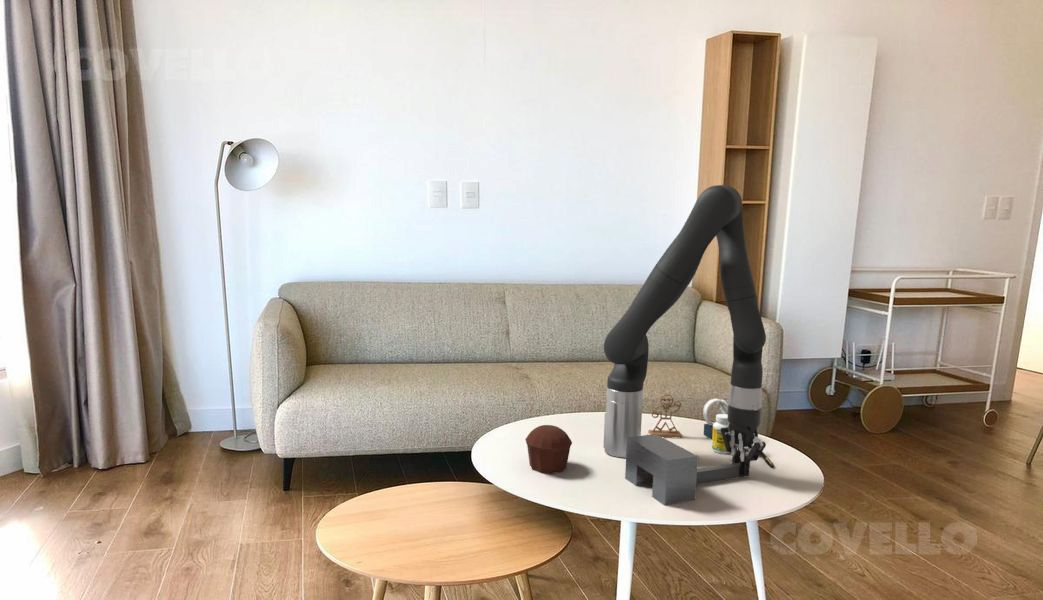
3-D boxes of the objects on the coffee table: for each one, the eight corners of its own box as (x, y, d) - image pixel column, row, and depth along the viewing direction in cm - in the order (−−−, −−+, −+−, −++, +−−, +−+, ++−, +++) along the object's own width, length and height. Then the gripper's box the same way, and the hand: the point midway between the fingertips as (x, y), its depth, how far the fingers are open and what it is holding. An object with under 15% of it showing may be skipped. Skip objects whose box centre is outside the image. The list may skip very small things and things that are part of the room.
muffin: (580, 471, 166) (581, 431, 165) (540, 479, 161) (541, 437, 159) (554, 455, 176) (555, 418, 175) (516, 462, 171) (517, 423, 170)
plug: (655, 485, 159) (656, 470, 158) (739, 471, 169) (740, 457, 168) (667, 492, 155) (667, 477, 154) (752, 477, 164) (753, 463, 164)
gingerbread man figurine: (650, 437, 193) (652, 395, 192) (647, 433, 197) (649, 392, 195) (682, 438, 193) (684, 396, 192) (678, 433, 197) (681, 392, 195)
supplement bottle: (729, 448, 186) (732, 413, 184) (734, 454, 180) (736, 419, 179) (709, 447, 186) (711, 412, 185) (713, 453, 181) (715, 418, 179)
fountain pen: (755, 450, 185) (755, 444, 185) (759, 450, 185) (759, 445, 185) (770, 469, 171) (770, 463, 171) (775, 470, 171) (775, 464, 171)
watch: (733, 439, 193) (736, 401, 192) (707, 441, 191) (710, 402, 190) (722, 433, 198) (725, 396, 197) (697, 434, 196) (700, 397, 195)
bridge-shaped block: (625, 478, 162) (626, 437, 161) (653, 474, 165) (655, 433, 164) (664, 505, 148) (667, 460, 146) (695, 500, 151) (697, 456, 149)
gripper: (713, 397, 168) (709, 466, 170) (752, 413, 156) (747, 486, 158) (737, 395, 171) (733, 462, 173) (778, 410, 159) (773, 482, 161)
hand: (740, 473), depth 166 cm, fingers closed on plug, 2 cm apart
